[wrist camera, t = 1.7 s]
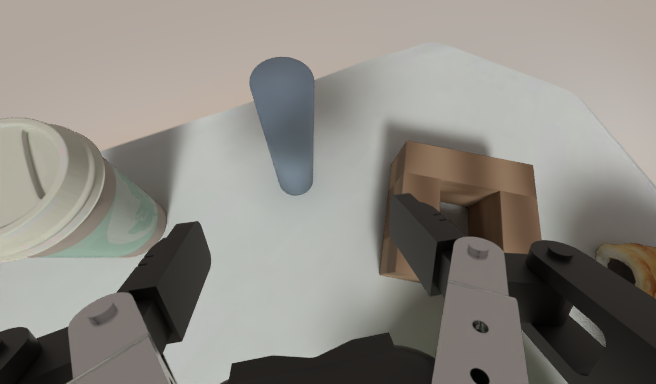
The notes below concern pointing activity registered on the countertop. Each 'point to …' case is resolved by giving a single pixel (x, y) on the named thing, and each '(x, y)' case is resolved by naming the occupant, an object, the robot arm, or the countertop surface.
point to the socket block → (465, 198)
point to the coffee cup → (68, 198)
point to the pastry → (631, 264)
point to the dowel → (287, 119)
